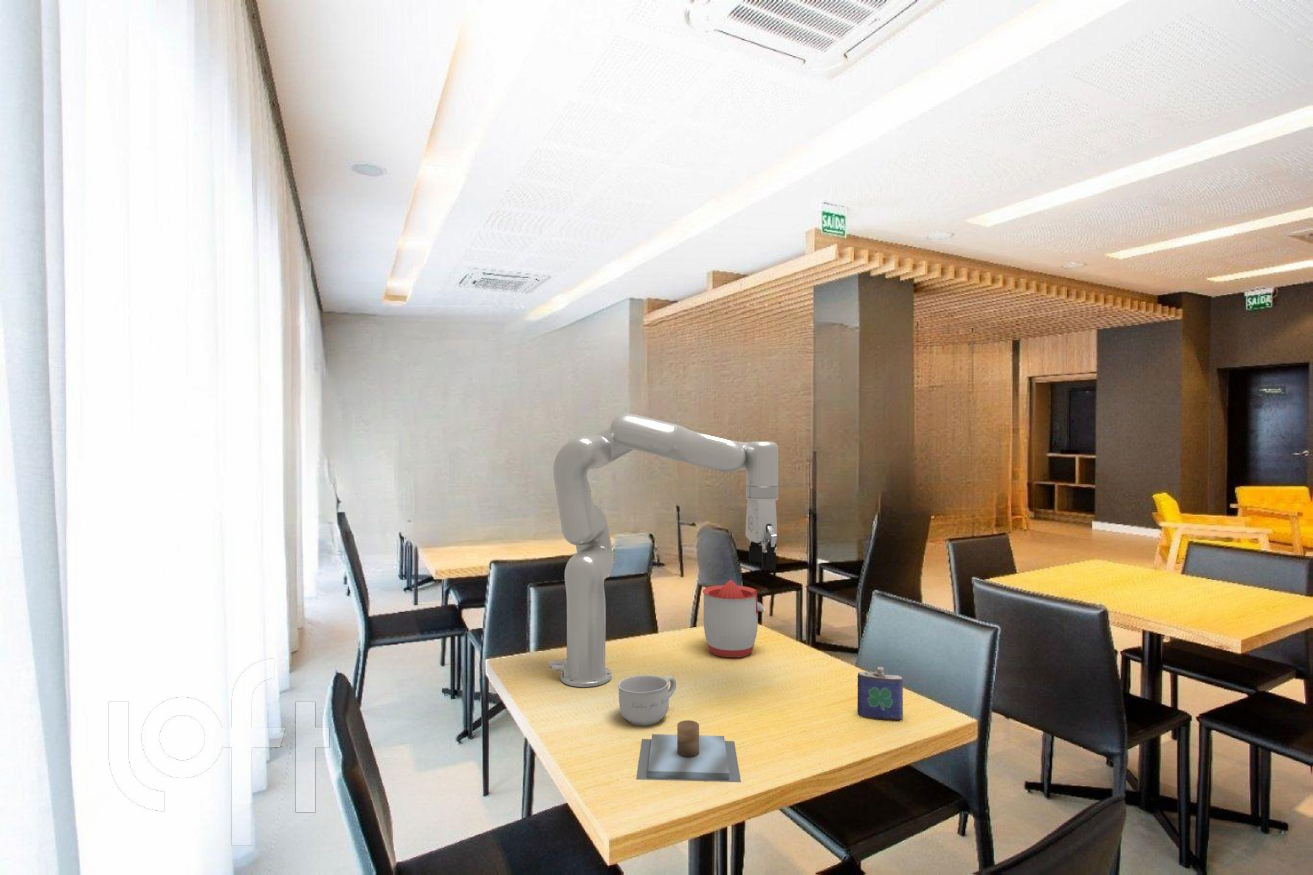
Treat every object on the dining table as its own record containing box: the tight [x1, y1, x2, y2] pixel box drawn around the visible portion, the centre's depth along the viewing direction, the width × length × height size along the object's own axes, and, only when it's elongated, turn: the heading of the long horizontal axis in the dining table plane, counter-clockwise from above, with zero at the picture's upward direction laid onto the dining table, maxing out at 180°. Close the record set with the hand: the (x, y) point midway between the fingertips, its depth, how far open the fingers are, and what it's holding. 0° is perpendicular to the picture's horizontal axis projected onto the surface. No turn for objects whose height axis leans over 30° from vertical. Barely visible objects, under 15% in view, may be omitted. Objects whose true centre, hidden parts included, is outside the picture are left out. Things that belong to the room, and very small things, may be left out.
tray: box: [635, 738, 742, 783], centre depth 118 cm, size 18×15×1 cm
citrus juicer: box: [702, 579, 766, 658], centre depth 179 cm, size 16×17×20 cm
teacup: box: [617, 674, 677, 726], centre depth 136 cm, size 14×11×8 cm
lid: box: [648, 719, 729, 780], centre depth 118 cm, size 14×14×6 cm
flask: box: [857, 666, 904, 722], centre depth 137 cm, size 9×3×11 cm, turn 74°
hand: (762, 565), depth 152 cm, fingers open, 9 cm apart
